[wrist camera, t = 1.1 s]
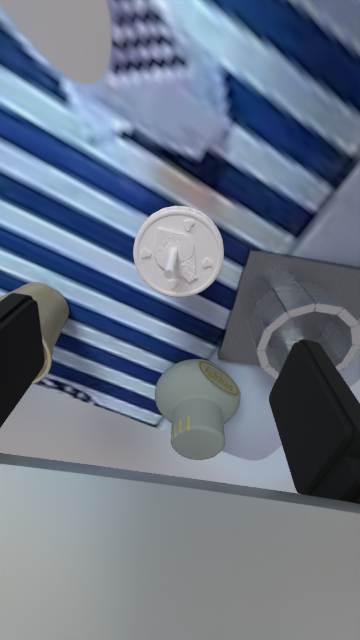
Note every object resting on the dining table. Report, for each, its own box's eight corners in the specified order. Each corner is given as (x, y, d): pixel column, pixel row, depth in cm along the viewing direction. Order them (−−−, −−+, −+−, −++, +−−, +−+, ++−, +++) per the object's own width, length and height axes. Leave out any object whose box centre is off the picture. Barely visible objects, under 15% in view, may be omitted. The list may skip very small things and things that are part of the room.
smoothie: (193, 175, 25) (192, 195, 13) (227, 235, 27) (252, 298, 16) (138, 216, 27) (93, 265, 15) (174, 268, 30) (161, 346, 18)
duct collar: (248, 248, 28) (260, 269, 23) (378, 271, 29) (419, 296, 23) (217, 353, 35) (221, 387, 30) (321, 370, 36) (343, 406, 31)
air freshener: (246, 382, 38) (261, 449, 29) (205, 412, 41) (208, 480, 33) (186, 340, 34) (183, 401, 26) (147, 376, 38) (134, 440, 29)
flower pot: (49, 349, 36) (12, 399, 29) (-13, 297, 32) (-74, 339, 25) (98, 314, 33) (71, 360, 26) (36, 252, 29) (-17, 285, 22)
